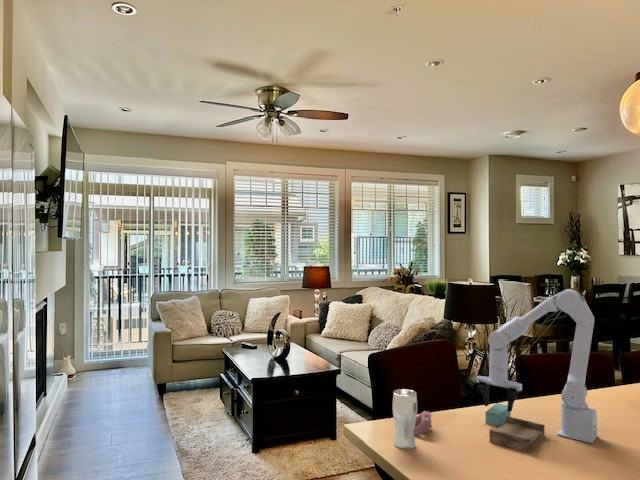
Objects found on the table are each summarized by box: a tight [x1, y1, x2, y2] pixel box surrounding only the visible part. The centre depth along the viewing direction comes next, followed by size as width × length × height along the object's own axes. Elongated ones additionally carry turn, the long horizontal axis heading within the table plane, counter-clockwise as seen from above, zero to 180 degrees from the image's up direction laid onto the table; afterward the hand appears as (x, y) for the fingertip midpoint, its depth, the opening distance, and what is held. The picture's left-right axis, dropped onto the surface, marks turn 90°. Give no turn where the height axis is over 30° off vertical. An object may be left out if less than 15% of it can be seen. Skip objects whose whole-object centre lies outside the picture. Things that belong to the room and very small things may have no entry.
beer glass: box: [392, 388, 418, 450], centre depth 135 cm, size 7×7×15 cm
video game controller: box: [414, 410, 433, 437], centre depth 146 cm, size 10×5×7 cm, turn 169°
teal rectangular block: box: [485, 402, 512, 428], centre depth 155 cm, size 4×11×4 cm, turn 141°
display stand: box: [489, 416, 546, 453], centre depth 140 cm, size 11×15×4 cm
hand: (498, 408), depth 156 cm, fingers open, 7 cm apart
